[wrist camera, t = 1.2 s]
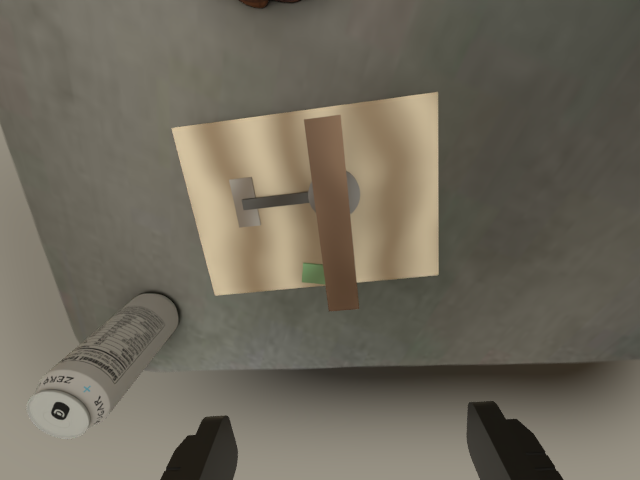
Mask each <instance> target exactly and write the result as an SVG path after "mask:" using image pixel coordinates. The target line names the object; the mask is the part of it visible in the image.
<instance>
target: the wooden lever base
mask: <svg viewBox="0 0 640 480" xmlns="http://www.w3.org/2000/svg"><path fill="white" fill-rule="evenodd" d="M334 115H341V124H342V134H343V145H344V155H345V166H346V171H348V172H349V173H351V174H352V175H353V176H354V178H355V179H356V181H357V183H358V185H359V189H360V200H359V203H358V206H357V208H356V209H355V210H354V212H353V213H352V214H350V218H351V228H352V239H353V249H354V260H355V270H356V281H357V282H368V281H379V280H390V279H401V278H412V277H422V276H433V275H439V263H438V92H434V93H427V94H419V95H412V96H405V97H397V98H390V99H383V100H375V101H368V102H361V103H353V104H346V105H338V106H331V107H324V108H316V109H309V110H302V111H294V112H287V113H280V114H272V115H265V116H258V117H250V118H243V119H236V120H228V121H221V122H214V123H206V124H199V125H191V126H184V127H177V128H172V132H173V136H174V140H175V144H176V147H177V151H178V155H179V159H180V163H181V167H182V171H183V174H184V178H185V182H186V186H187V190H188V194H189V197H190V201H191V205H192V209H193V213H194V217H195V220H196V224H197V228H198V232H199V236H200V240H201V244H202V247H203V251H204V255H205V259H206V263H207V267H208V270H209V274H210V278H211V282H212V286H213V290H214V294H215V296H216V295H227V294H238V293H249V292H259V291H270V290H281V289H292V288H303V287H314V286H325V277H324V270H323V262H322V254H321V247H320V239H319V232H318V224H317V216H316V213H315V211H314V210H313V209H312V207H311V205H310V203H304V204H295V205H286V206H278V207H269V208H260V209H251V210H243V205H242V200H243V199H248V198H256V197H265V196H274V195H282V194H291V193H300V192H308V191H309V187H310V184H311V182H312V178H311V171H310V163H309V155H308V148H307V140H306V133H305V125H304V119H311V118H319V117H326V116H334Z"/></svg>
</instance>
